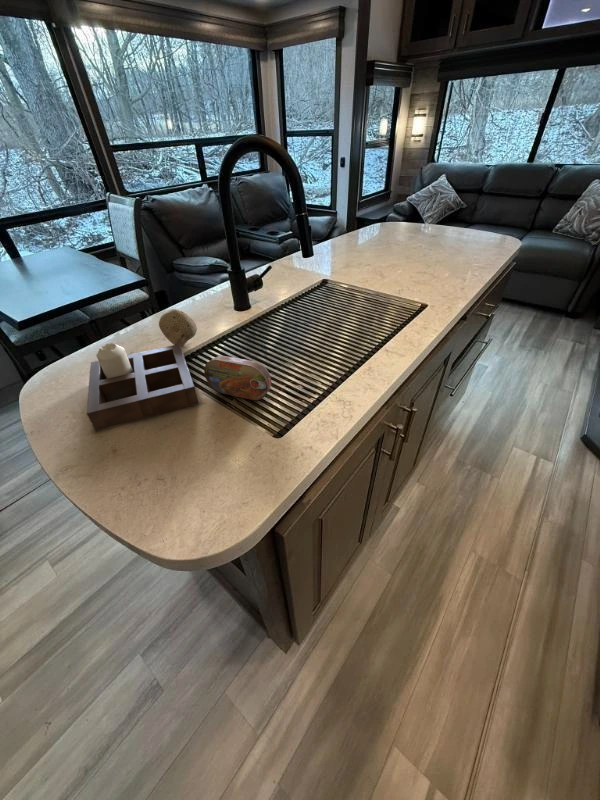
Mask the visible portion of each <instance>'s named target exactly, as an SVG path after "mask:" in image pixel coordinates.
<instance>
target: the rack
mask: <svg viewBox="0 0 600 800" xmlns="http://www.w3.org/2000/svg"><path fill="white" fill-rule="evenodd" d="M126 355H127V357H128V360H129V362H130V365H131V367H132V370H133V372H134V373H130V374H126V375H122V376H117V377H113V378H108V379H107V378H106V376H105V374H104V372H103V369H102V367H101V365H100V363H99V361H98V360H95V361H91V362H90V367H89V378H88V391H87V403H86V416H87V418H88V419H89V421H90V424H91V425H92V427H93V429H94V430H95V432H98V431H101V430H105V429H109V428H113V427H117V426H120V425H123V424H128V423H132V422H136V421H138V420H139V421H140V420H142V419H146V418H150V417H154V416H157V415H161V414H165V413H169V412H173V411H176V410H180V409H184V408H187V407H191V406H194V405H195V406H196V405H199V403H200V402H199V399H198V394H197V391H196V388H195V384H194V381H193V379H192V376H191V373H190V370H189V367H188V363H187V360H186V358H185V355H184V352H183V350H182V346H180V344H177V345H174V344H172V345H167V346H163V347H157V348H153V349H149V350H144V351H139V352H135V353H134V352H133V353H129V354H126Z"/></svg>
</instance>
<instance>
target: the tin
mask: <svg viewBox="0 0 600 800" xmlns="http://www.w3.org/2000/svg"><path fill="white" fill-rule="evenodd" d="M203 372H204V374H203V375H204V377H205V380H206V381H207V383H208V384H209V386H210V387H211V388H212V389H213V390H215V391H216V392H218V393H220V394H223V395H229V396H232V397H237V398H242V399H246V400H250V401H259V400H261V399H264V398H265V397H266V395H267V394H268V392H269V391H270V389H271V387H272V378H271V375H270V372H269V370H268V369H267V368H266V367H265V366H264V365H263V364H262V363H261V362H258V361H255V360H249V359H244V358H239V357H233V356H228V355H226V356H225V355H218V356H215V357H213V358H212V359H210V360H209V361H207V362H206V364H205V366H204V368H203Z"/></svg>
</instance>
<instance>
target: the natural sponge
mask: <svg viewBox="0 0 600 800" xmlns="http://www.w3.org/2000/svg"><path fill="white" fill-rule="evenodd" d="M158 327H159V329H160V331H161V333H162V334H163V336H164V338H166V339H167V340H168V341H169V342H170V343H171V344H172V345H177V344H180V346H181V347H183V346H185V345H186V344H187V343H188V341H190V340H191V339H193V338H194V337H195V336H196V334H197V331H198V327H197V322H196V321H195V320H194V319H193V318H192V316H191V315H190V314H189V313H188V312H186V311H184V310H183V309H179V308H172V309H169V310H166V311H165V312H164V313H162V315H161V316H160V318H159V320H158Z"/></svg>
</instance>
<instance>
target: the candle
mask: <svg viewBox="0 0 600 800" xmlns="http://www.w3.org/2000/svg"><path fill="white" fill-rule="evenodd" d="M127 355H128V354H127V352H126V349H125V347H123V346H120V345H118V344H116V343H114V342H112V343H106V344H105V345H101V346H100V347H99V349H98V351H97V353H96V359H97V361H99V363H100V365H101V367H102V369H103V372H104V374H105V376H106V378H107V379H108V378H113V377H117V376H122V375H126V374H130V373H134V372H133V370H132V367H131V365H130V362H129V360H128V357H127Z"/></svg>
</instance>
